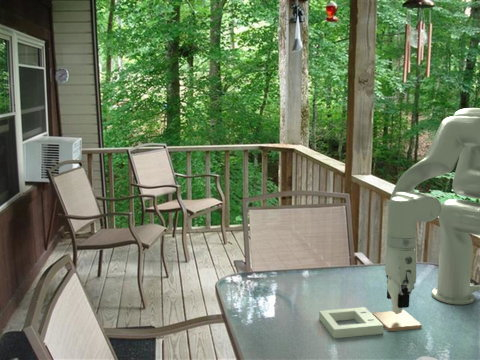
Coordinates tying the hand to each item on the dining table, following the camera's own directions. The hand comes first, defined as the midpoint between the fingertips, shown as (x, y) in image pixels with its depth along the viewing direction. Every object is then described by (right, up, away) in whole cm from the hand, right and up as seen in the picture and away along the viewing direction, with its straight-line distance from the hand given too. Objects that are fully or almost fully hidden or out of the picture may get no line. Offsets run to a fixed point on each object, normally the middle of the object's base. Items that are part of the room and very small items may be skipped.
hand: (397, 302), depth 148 cm
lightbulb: (0, -4, +1) cm, 4 cm away
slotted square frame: (-14, -6, -2) cm, 15 cm away
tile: (0, -6, +1) cm, 6 cm away
